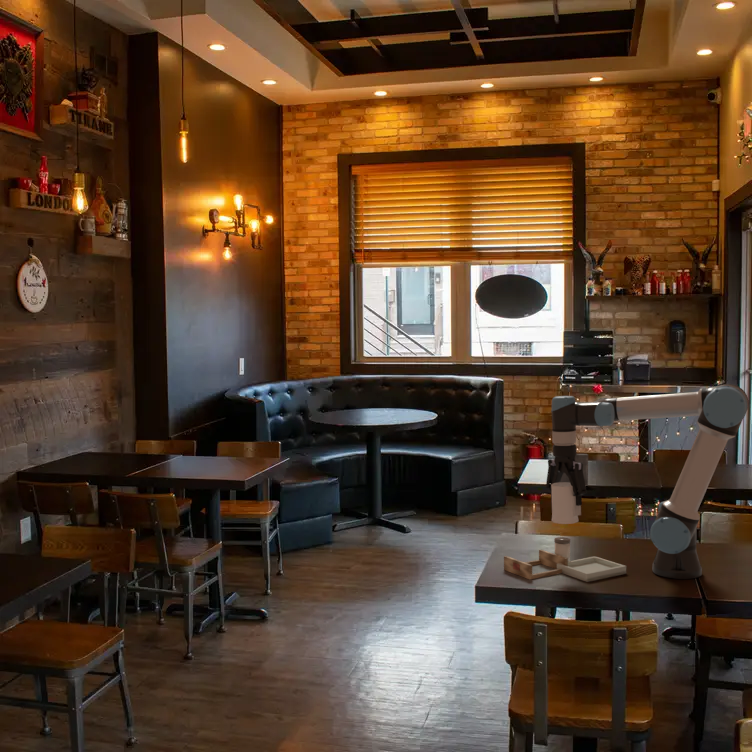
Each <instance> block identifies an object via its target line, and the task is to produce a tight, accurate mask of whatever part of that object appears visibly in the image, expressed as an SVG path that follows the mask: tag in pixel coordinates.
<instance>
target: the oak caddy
mask: <svg viewBox="0 0 752 752" xmlns="http://www.w3.org/2000/svg"><path fill="white" fill-rule="evenodd" d="M558 563H562V564H563V565H566V566H568V558H565V557H562V556H559V555H556V554H555V553H552V552H550V551H548V550H547V551H546V550H544V549H538V559H535V560H531V561H525V562H524V561H522V560H519V559H516V558H514V557H511V556H508V555H505V556H503V570H504V571H506V572H509V573H511V574H514V575H516V576H520V577H522V578H525V579H527V580H534V579H535V580H536V579H538V578H539V579H540V578H543V577H544V578H545V577H548V576H549V577H550V576H554V575H558V574H563V573H562V569H557V564H558ZM536 565H543V566H546V567H549V568H552V570H547V571H541V572H536V573H533V566H536Z"/></svg>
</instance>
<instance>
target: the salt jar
mask: <svg viewBox="0 0 752 752" xmlns="http://www.w3.org/2000/svg"><path fill="white" fill-rule="evenodd" d="M553 540H554V541H553V542H554V554H556V555H559V556H562V557H565V558H568V561H571V538H569V537H563V536H562V537H561V536H560V537H559V536H558V537H554V539H553Z"/></svg>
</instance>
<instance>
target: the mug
mask: <svg viewBox="0 0 752 752" xmlns="http://www.w3.org/2000/svg"><path fill="white" fill-rule="evenodd" d="M551 490H552V500H551V513H552V515H551V522H552V523H554V524H560V525H569V524H570V525H571V524H575V523H578V522H579V515H578V516H573V495H574V492H573V486H571V483H570V482H559V483H553V484H551Z"/></svg>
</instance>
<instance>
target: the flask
mask: <svg viewBox="0 0 752 752" xmlns="http://www.w3.org/2000/svg"><path fill="white" fill-rule="evenodd" d="M575 461H576V462H577V463H583V475H584V480H585V485H588V486H589V454H587V453H577V455H576V456H575ZM560 482H570V481H569V478H568V476H567V475H566V473H563V475H562V478H561V481H560Z"/></svg>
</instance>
